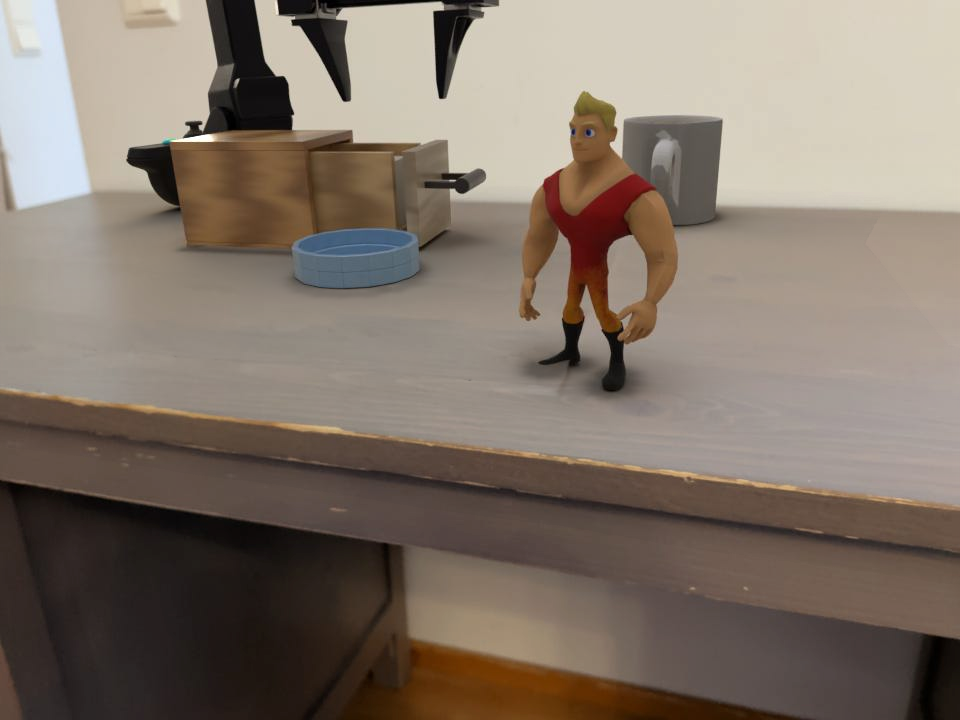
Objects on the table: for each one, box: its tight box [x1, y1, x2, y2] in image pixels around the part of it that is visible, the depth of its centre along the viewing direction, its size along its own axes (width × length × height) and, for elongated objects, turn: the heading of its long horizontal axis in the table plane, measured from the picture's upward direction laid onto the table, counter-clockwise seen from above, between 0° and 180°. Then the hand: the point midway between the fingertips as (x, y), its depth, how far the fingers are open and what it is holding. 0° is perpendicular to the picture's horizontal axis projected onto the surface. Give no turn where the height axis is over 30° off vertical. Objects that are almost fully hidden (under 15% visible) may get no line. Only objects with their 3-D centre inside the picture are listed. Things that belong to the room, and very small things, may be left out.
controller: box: [125, 120, 203, 207], centre depth 95 cm, size 4×12×10 cm, turn 151°
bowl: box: [291, 228, 421, 289], centre depth 63 cm, size 10×10×3 cm
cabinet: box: [169, 129, 354, 250], centre depth 76 cm, size 14×11×10 cm
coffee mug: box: [621, 114, 724, 226], centre depth 81 cm, size 13×10×10 cm
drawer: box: [308, 139, 487, 248], centre depth 73 cm, size 17×9×8 cm, turn 75°
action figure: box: [518, 90, 679, 391], centre depth 41 cm, size 10×4×15 cm, turn 49°
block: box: [394, 156, 407, 226], centre depth 74 cm, size 4×4×6 cm
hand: (394, 100), depth 70 cm, fingers open, 9 cm apart
